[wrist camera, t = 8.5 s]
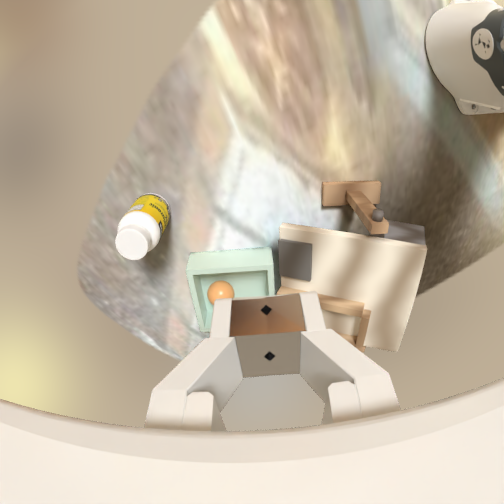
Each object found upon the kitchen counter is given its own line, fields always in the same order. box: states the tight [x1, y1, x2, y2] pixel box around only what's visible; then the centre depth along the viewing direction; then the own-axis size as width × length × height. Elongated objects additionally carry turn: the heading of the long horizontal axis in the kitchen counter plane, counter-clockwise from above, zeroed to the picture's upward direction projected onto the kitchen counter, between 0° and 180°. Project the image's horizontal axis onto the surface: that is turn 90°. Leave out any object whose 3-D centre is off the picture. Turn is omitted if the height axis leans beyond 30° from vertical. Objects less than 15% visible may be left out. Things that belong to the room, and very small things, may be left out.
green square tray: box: [186, 247, 275, 332], centre depth 46 cm, size 12×12×4 cm
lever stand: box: [322, 181, 389, 352], centre depth 41 cm, size 8×22×11 cm, turn 4°
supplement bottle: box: [115, 193, 171, 260], centre depth 38 cm, size 5×5×10 cm
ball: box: [207, 280, 235, 305], centre depth 46 cm, size 4×4×4 cm
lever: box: [277, 220, 427, 352], centre depth 40 cm, size 17×16×9 cm
